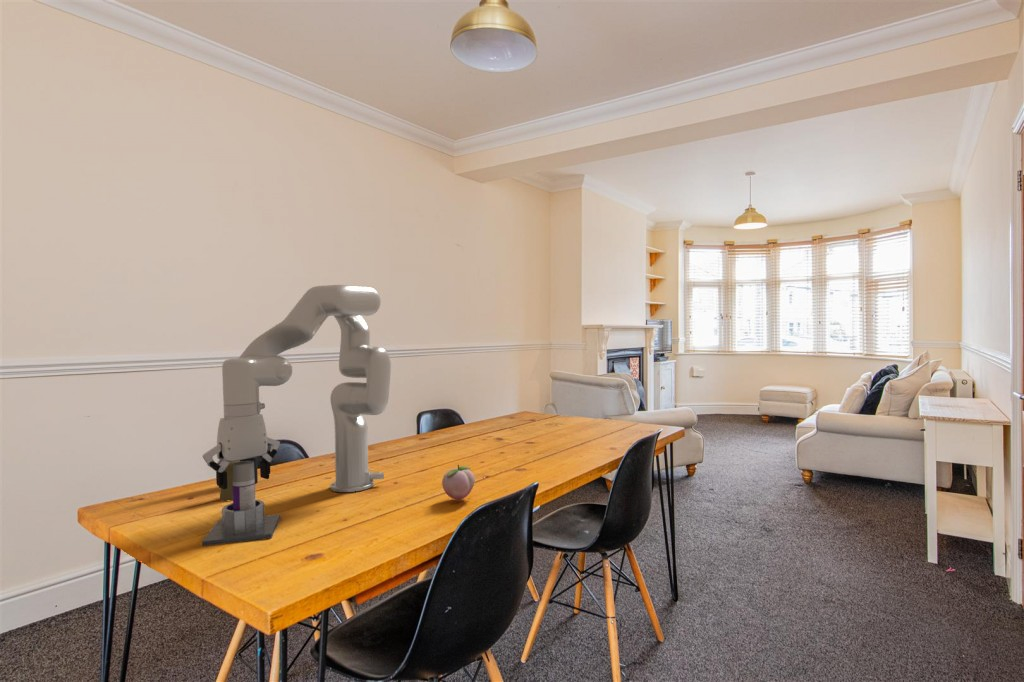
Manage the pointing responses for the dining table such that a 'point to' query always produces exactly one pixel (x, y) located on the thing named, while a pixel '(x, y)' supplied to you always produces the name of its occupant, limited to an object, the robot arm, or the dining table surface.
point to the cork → (228, 483)
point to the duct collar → (242, 525)
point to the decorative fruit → (458, 482)
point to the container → (243, 485)
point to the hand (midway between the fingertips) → (244, 483)
